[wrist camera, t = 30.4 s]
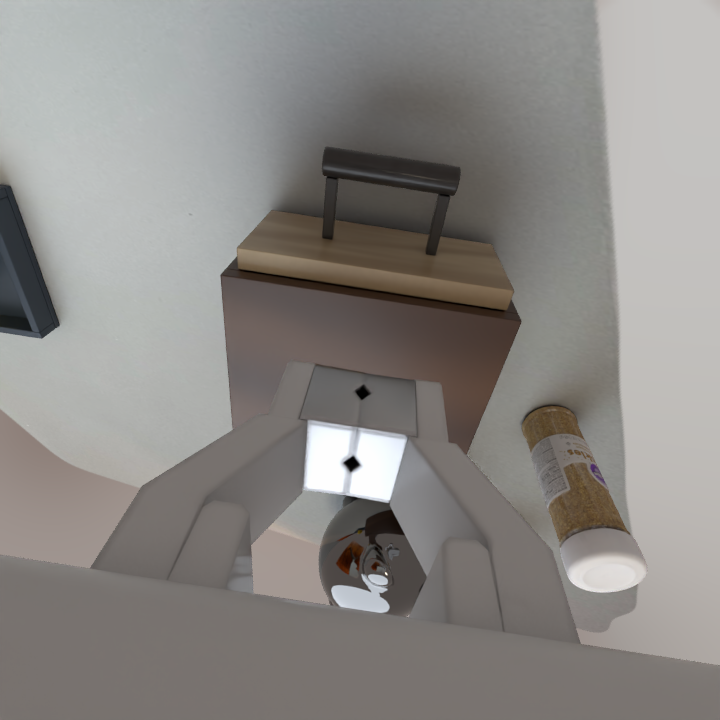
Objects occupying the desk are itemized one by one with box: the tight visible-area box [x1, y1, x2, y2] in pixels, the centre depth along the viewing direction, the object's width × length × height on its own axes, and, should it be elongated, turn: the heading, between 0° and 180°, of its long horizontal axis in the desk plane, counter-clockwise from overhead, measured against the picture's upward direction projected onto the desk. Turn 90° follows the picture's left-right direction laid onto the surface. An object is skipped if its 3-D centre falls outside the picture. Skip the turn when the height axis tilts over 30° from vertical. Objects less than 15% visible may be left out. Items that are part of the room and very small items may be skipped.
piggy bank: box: [319, 496, 427, 617], centre depth 40 cm, size 11×15×12 cm
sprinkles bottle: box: [522, 406, 648, 592], centre depth 31 cm, size 5×5×13 cm
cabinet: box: [221, 257, 521, 454], centre depth 29 cm, size 16×16×9 cm
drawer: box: [237, 147, 514, 310], centre depth 27 cm, size 19×14×7 cm
